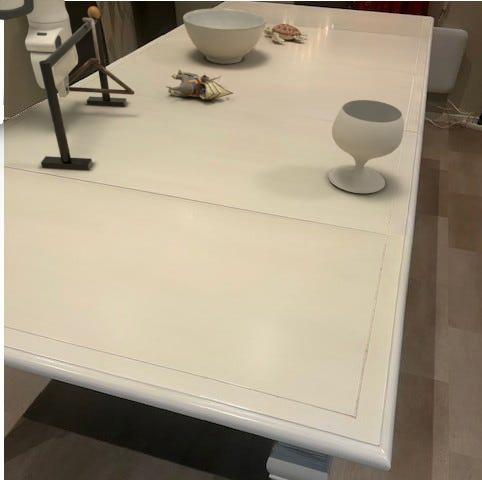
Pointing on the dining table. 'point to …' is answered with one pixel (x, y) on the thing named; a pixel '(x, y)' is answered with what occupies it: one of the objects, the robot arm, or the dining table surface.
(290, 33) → the decorative turtle
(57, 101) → the rail
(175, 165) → the dining table surface
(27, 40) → the robot arm
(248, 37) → the decorative bowl
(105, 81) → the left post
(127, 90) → the hanger
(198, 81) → the figurine
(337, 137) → the chalice
